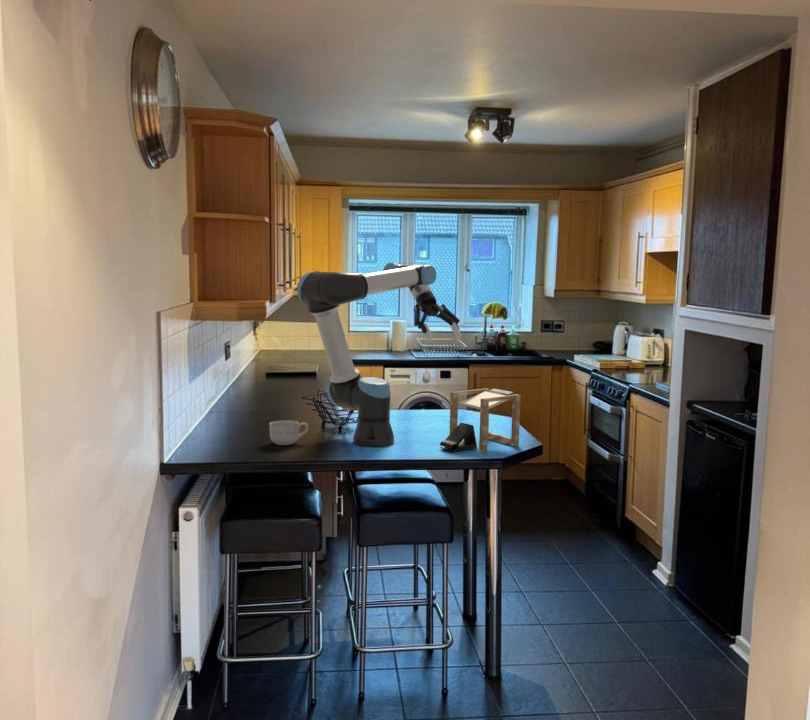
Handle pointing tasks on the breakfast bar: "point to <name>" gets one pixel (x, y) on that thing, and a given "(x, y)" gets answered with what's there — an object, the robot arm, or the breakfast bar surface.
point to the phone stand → (460, 438)
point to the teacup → (286, 432)
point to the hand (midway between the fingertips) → (445, 338)
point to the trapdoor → (476, 400)
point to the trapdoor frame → (485, 418)
